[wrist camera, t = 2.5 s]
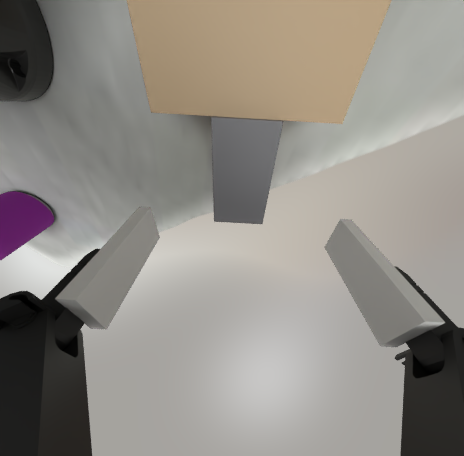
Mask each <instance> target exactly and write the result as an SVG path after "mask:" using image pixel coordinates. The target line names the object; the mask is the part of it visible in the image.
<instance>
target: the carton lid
mask: <svg viewBox="0 0 464 456" xmlns="http://www.w3.org/2000/svg"><path fill="white" fill-rule="evenodd" d="M390 3H391V0H127V4H128V8H129V13H130V17H131V22H132V27H133V31H134V36H135V41H136V45H137V50H138V54H139V59H140V64H141V68H142V73H143V78H144V82H145V87H146V92H147V96H148V101H149V105H150V110H151V113H168V114H185V115H202V116H212V117H211V124H212V161H213V198H214V221H216V222H233V223H251V224H262V223H263V218H264V213H265V208H266V203H267V198H268V194H269V189H270V184H271V179H272V174H273V169H274V165H275V160H276V155H277V150H278V145H279V140H280V135H281V130H282V126H283V121H282V120H286V121H303V122H320V123H337V124H342V123H343V121H344V118H345V116H346V113H347V111H348V108H349V106H350V103H351V101H352V98H353V95H354V93H355V90H356V88H357V85H358V83H359V80H360V78H361V75H362V73H363V70H364V68H365V65H366V63H367V60H368V58H369V55H370V53H371V50H372V48H373V45H374V43H375V40H376V38H377V35H378V33H379V30H380V28H381V25H382V23H383V20H384V18H385V15H386V13H387V10H388V8H389V5H390Z"/></svg>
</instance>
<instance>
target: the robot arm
mask: <svg viewBox="0 0 464 456" xmlns="http://www.w3.org/2000/svg"><path fill="white" fill-rule="evenodd" d="M52 68H53V61H52V51H51V45H50V41H49V37H48V33H47V30H46V26H45V23H44V21H43V18H42V15H41V13H40V10H39V8H38V5H37V3H36V1H35V0H0V101H28V100H32V99H35V98H37V97H39V96H40V95H42V94H43V93H44V92H45V90H46V89H47V87H48V86H49V83H50V80H51V76H52ZM159 238H160V237H159V233H158V230H157V227H156V223H155V220H154V217H153V214H152V210H151V208H150V207H139V208H138V209H137V210H136V211H135V212H134V214H133V215H132V216H131V217H130V218H129V219H128V220H127V221H126V222H125V223H124V224H123V225H122V227H121V228H120V229H119V230H118V231H117V232H116V233H115V234H114V235H113V236H112V237H111V238H110V240H109V241H108V242H107V243H106V244H105V245H104V246H103V247H102V248H101V249H95V250H93V251H92V252H90V253H89V254H87V255H85V256H84V257H83V259H82V260H81V261H80V262H79V263H78V265H76V266H75V267H74V268H73V269H72V270H71V272H69V273H68V274H67V275H66V276H65V277H64V278H63V279H62V280H61V281H60V282H59V283H58V284H57V285H56V286H55V287H54V288H53V289H52V290H51V291H50V292H49V293H48V294H47V295H46V296H45V297H44V298H43V299H42V300H40V299H39V298H38V297H36V296H35V295H34V294H32V293H30V292H28V291H19V292H16V293H12V294H9V295H7V296H5V297H3V298H1V299H0V456H92V448H91V436H90V423H89V411H88V398H87V385H86V373H85V361H84V348H83V337H82V332H81V330H80V329H81V328H82V326H83V325H84V323H85V324H86V325H87V326H88V327H90V328H92V329H93V328H94V329H107V328H108V326H109V324H110V323H111V321H112V319H113V317H114V316H115V314H116V312H117V311H118V309H119V307H120V305H121V303H122V302H123V300H124V298H125V297H126V295H127V293H128V291H129V290H130V288H131V286H132V284H133V283H134V281H135V279H136V278H137V276H138V274H139V272H140V271H141V269H142V267H143V265H144V264H145V262H146V260H147V259H148V257H149V255H150V253H151V251H152V250H153V248H154V246H155V245H156V243H157V241H158V239H159ZM325 249H326V251H327V253H328V254H329V256H330V258H331V260H332V261H333V263H334V265H335V267H336V268H337V270H338V272H339V274H340V275H341V277H342V279H343V281H344V283H345V284H346V286H347V288H348V289H349V291H350V293H351V295H352V297H353V299H354V300H355V302H356V304H357V306H358V308H359V309H360V311H361V313H362V315H363V316H364V318H365V320H366V322H367V323H368V325H369V327H370V328H371V330H372V332H373V334H374V336H375V337H376V339H377V341H378V343H379V345H380V346H386V347H398V346H400V345H402V344H404V343H406V344H407V345H408V347H409V348H410V349H409V350H406V351H404V352H402V353H400V354H397V355H396V357H395V359H396V360H400V359H402V358H404V357H405V361H404V362H402V364H403V365H405V377H404V397H403V417H402V439H401V456H464V328H458V327H457V326H456V325H455V324H454V323H453V322H452V321H451V320H450V319H449V318H448V317H447V316H446V315H445V314H444V312H443V311H442V310H441V309H440V308H439V307H438V306H437V305H436V304H435V303H434V302H433V301H432V300H431V299H430V298H429V297H428V296H427V295H426V294H425V293H423V292H424V291H423V290H422V289H421V288H420V287H419V286H417V285H416V283H415V282H414V281H413V280H412V279H411V278H410V277H409V276H408V275H407V274H406V273H404V272H403V271H402V270H400V269H399V268H398V267H394V266H393V265H392V264H391V263H390V262H389V260H388V259H387V258H386V257H385V256H384V255H383V254H382V253H381V252H380V250H379V249H378V248H376V246H375V245H374V244H373V243H372V242H371V241H370V240H369V238H368V237H367V236H366V235H365V234H364V233H363V232H362V231H361V230H360V229H359V227H358V226H357V225H356V224H355V223H354V222H353V221H352V220H348V219H340V221H339V222H338V224H337V226H336V228H335V230H334V232H333V233H332V235H331V237H330V238H329V240H328V243H327V244H326V246H325Z"/></svg>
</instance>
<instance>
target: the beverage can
mask: <svg viewBox="0 0 464 456" xmlns="http://www.w3.org/2000/svg"><path fill="white" fill-rule="evenodd" d="M53 222H54V216H53V212H52V210H51V209H50V208H49V206H48V205H47V204H45V203H44V202H43V201H42V200H40V199H38V198H36V197H34V196H32V195H29V194H25V193H21V192H16V191H12V192H6V193H3V194H1V195H0V260H2V259H3V258H5V257H6V256H8V255H9V254H11V253H12V252H14V251H15V250H16V249H18V248H19V247H21V246H22V245H24V244H25V243H26V242H28V241H29V240H31V239H32V238H34V237H35V236H37V235H38V234H39V233H41V232H42V231H44V230H45V229H47V228H48V227H50V226H51V225H52V224H53Z"/></svg>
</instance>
